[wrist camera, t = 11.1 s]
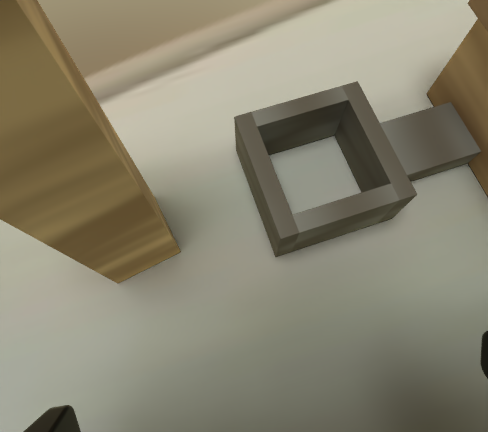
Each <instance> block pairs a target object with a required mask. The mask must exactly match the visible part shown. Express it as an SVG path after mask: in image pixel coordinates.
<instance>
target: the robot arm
mask: <svg viewBox="0 0 488 432" xmlns="http://www.w3.org/2000/svg"><path fill="white" fill-rule="evenodd" d="M481 367H482V370H483V372H484V374H485V376H486V377H487V378H488V331H486V332H484V334H483V336H482V347H481ZM24 432H81V431H80V428H79V425H78V421H77V418H76V415H75V412H74V409H73V408H72V406H70V405H65V406H59V407H53V408H50V409H49V410H47V411H46V412H45V413H44V414H43V415H42V416H41V417H39V418H38V419H37V420H36V421H35V422H34V423H33V424H32V425H30V426H29V427H28V428H27V429H26V430H25V431H24Z"/></svg>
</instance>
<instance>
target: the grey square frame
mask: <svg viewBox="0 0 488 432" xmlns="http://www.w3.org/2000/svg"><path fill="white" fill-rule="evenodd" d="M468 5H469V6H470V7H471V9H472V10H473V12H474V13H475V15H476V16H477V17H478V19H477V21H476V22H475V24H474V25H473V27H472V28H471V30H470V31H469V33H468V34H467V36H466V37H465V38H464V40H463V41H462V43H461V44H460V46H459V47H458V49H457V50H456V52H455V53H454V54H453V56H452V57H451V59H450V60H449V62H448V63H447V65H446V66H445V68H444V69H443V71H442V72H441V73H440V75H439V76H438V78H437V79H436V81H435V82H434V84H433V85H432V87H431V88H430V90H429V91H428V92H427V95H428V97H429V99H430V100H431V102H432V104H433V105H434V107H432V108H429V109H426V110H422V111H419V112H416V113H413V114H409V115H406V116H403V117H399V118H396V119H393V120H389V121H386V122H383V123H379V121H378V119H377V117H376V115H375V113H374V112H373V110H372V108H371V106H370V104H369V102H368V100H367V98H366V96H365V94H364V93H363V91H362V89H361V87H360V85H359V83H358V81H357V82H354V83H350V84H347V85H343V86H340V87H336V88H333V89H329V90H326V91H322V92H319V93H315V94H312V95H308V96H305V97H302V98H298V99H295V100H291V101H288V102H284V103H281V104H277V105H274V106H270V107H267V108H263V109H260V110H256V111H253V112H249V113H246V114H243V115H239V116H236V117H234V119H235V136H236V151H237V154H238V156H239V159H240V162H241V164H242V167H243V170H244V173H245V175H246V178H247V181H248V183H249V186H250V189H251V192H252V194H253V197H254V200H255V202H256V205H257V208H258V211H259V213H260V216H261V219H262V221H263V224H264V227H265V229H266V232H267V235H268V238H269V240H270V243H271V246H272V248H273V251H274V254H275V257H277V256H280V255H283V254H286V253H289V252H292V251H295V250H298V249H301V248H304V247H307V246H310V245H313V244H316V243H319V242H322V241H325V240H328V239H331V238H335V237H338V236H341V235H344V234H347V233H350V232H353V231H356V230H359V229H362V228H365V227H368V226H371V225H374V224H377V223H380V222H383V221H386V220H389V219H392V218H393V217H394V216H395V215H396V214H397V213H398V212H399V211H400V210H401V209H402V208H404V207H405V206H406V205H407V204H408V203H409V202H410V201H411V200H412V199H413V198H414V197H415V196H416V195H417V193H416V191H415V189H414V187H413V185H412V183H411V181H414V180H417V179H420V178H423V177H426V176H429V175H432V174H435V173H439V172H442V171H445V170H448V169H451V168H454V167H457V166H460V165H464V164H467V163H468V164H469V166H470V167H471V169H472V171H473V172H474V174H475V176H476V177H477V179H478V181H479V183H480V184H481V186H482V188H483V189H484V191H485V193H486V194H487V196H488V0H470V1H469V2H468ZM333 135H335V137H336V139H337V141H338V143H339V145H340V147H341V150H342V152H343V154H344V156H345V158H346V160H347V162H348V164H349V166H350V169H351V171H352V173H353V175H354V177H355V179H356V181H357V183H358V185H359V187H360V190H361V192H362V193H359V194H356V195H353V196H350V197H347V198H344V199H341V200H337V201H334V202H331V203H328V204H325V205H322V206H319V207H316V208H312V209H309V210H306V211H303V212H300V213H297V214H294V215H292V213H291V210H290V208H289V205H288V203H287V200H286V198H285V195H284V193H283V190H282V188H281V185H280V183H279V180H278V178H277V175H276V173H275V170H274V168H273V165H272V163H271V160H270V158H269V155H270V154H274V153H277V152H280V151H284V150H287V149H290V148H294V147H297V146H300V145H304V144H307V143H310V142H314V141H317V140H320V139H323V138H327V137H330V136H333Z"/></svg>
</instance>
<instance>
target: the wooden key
mask: <svg viewBox="0 0 488 432" xmlns="http://www.w3.org/2000/svg"><path fill="white" fill-rule="evenodd" d="M0 219H1V220H3V221H4V222H6V223H8V224H10V225H12V226H14V227H15V228H17V229H19V230H21V231H23V232H25V233H26V234H28V235H30V236H32V237H34V238H36V239H37V240H39V241H41V242H43V243H45V244H47V245H48V246H50V247H52V248H54V249H56V250H58V251H59V252H61V253H63V254H65V255H67V256H69V257H70V258H72V259H74V260H76V261H78V262H80V263H81V264H83V265H85V266H87V267H89V268H91V269H92V270H94V271H96V272H98V273H100V274H102V275H103V276H105V277H107V278H109V279H111V280H112V281H114V282H116V283H120V282H122V281H124V280H126V279H128V278H130V277H132V276H134V275H136V274H138V273H140V272H142V271H144V270H146V269H148V268H150V267H152V266H154V265H156V264H158V263H160V262H162V261H164V260H166V259H168V258H170V257H172V256H174V255H176V254H178V253H180V252H181V251H180V249H179V247H178V245H177V243H176V241H175V239H174V237H173V235H172V233H171V230H170V228H169V226H168V224H167V222H166V220H165V218H164V216H163V214H162V212H161V210H160V208H159V206H158V204H157V202H156V199H155V197H154V196H153V194H152V192H151V191H150V189H149V187H148V186H147V184H146V182H145V180H144V179H143V177H142V175H141V174H140V172H139V170H138V169H137V167H136V165H135V164H134V162H133V160H132V159H131V157H130V155H129V154H128V152H127V150H126V149H125V147H124V145H123V144H122V142H121V140H120V138H119V137H118V135H117V133H116V132H115V130H114V128H113V127H112V125H111V123H110V122H109V120H108V118H107V117H106V115H105V113H104V112H103V110H102V108H101V107H100V105H99V103H98V102H97V100H96V98H95V97H94V95H93V93H92V91H91V90H90V88H89V86H88V85H87V83H86V81H85V80H84V78H83V76H82V75H81V73H80V71H79V70H78V68H77V66H76V65H75V63H74V61H73V60H72V58H71V56H70V55H69V53H68V51H67V49H66V48H65V46H64V45H63V43H62V41H61V39H60V38H59V36H58V34H57V33H56V31H55V29H54V28H53V26H52V24H51V23H50V21H49V19H48V18H47V16H46V14H45V13H44V11H43V9H42V7H41V6H40V4H39V3H38V1H37V0H0Z"/></svg>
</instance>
